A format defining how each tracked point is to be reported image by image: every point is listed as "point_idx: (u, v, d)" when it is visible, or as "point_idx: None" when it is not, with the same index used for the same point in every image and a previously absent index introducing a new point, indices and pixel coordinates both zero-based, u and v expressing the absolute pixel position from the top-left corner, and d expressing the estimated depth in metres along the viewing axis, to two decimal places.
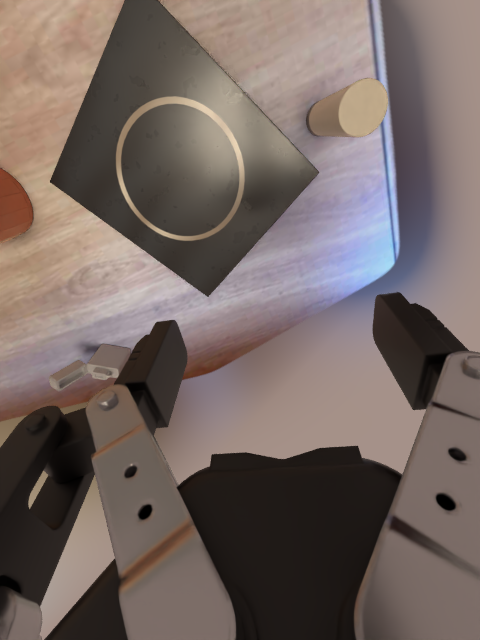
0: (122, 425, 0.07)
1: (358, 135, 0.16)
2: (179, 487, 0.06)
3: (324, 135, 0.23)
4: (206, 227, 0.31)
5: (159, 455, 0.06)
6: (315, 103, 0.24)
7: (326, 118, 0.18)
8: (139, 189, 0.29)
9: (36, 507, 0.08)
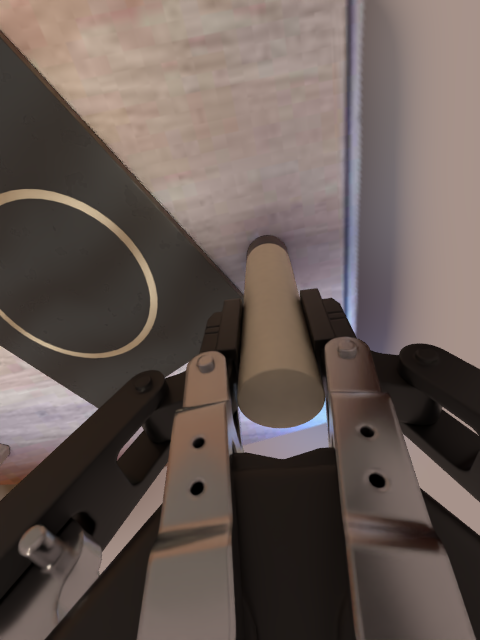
0: (209, 393, 0.08)
1: (272, 426, 0.09)
2: (237, 477, 0.06)
3: None
4: (105, 347, 0.23)
5: (226, 440, 0.06)
6: (258, 241, 0.17)
7: None
8: (6, 290, 0.20)
9: (129, 453, 0.09)
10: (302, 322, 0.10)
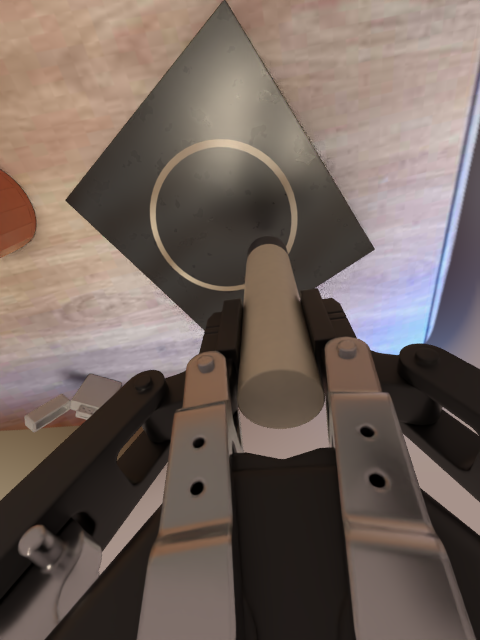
0: (209, 393, 0.08)
1: (271, 427, 0.09)
2: (236, 477, 0.06)
3: None
4: (239, 280, 0.27)
5: (226, 440, 0.06)
6: (258, 242, 0.17)
7: None
8: (173, 228, 0.25)
9: (129, 453, 0.09)
10: (302, 323, 0.10)
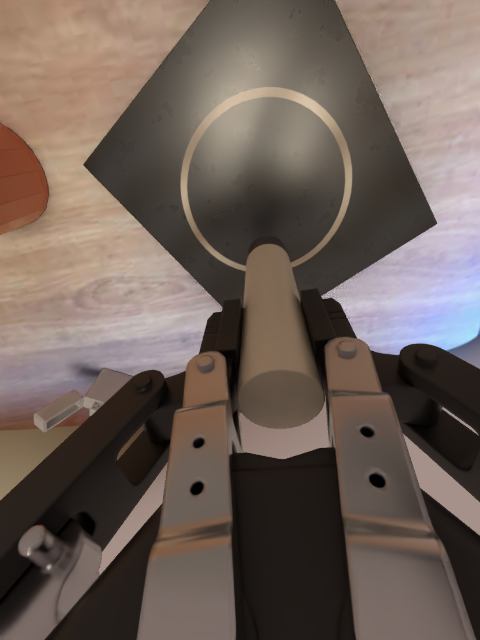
0: (209, 393, 0.08)
1: (271, 427, 0.09)
2: (237, 477, 0.06)
3: None
4: None
5: (226, 440, 0.06)
6: (258, 242, 0.17)
7: None
8: (206, 199, 0.22)
9: (129, 453, 0.09)
10: (302, 323, 0.10)
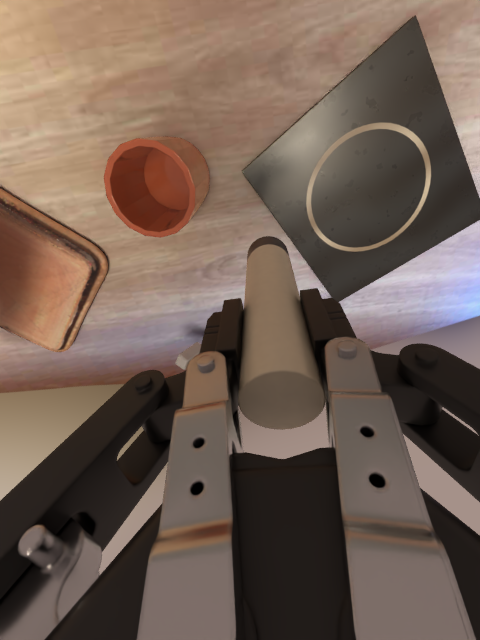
0: (209, 393, 0.08)
1: (272, 427, 0.09)
2: (237, 477, 0.06)
3: None
4: (367, 242, 0.33)
5: (226, 440, 0.06)
6: (259, 242, 0.17)
7: None
8: (324, 196, 0.31)
9: (129, 453, 0.09)
10: (303, 324, 0.10)
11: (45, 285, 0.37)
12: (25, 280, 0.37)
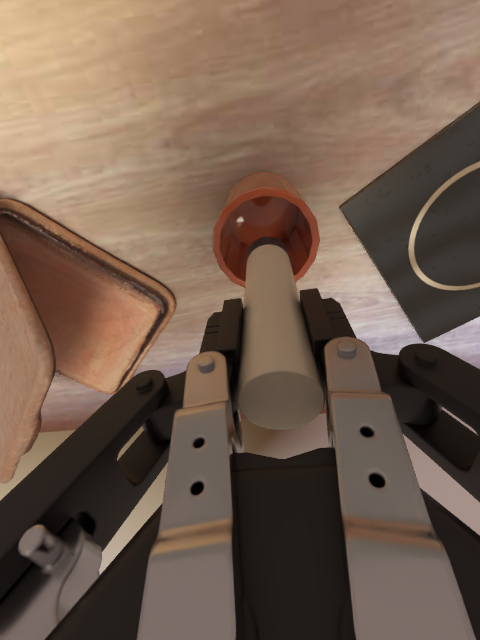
0: (209, 393, 0.08)
1: (272, 428, 0.09)
2: (237, 477, 0.06)
3: None
4: (471, 280, 0.30)
5: (226, 440, 0.06)
6: (258, 242, 0.17)
7: None
8: (430, 233, 0.27)
9: (129, 453, 0.09)
10: (302, 324, 0.10)
11: (105, 329, 0.34)
12: (84, 324, 0.34)
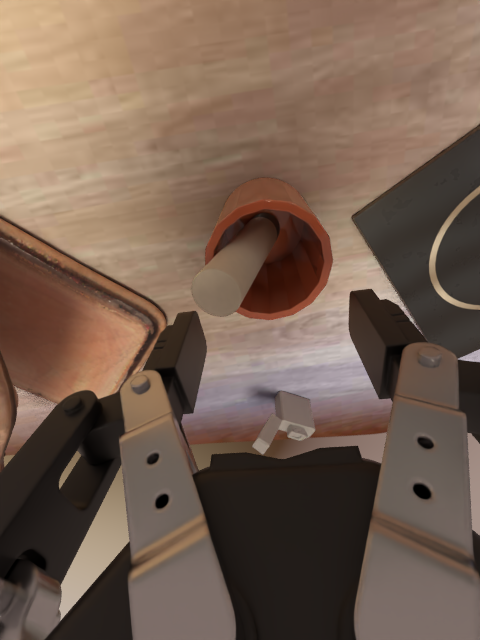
0: (151, 411, 0.07)
1: (213, 314, 0.15)
2: (198, 481, 0.06)
3: None
4: None
5: (181, 447, 0.06)
6: (255, 216, 0.23)
7: None
8: (454, 247, 0.24)
9: (68, 484, 0.08)
10: (248, 257, 0.16)
11: (89, 351, 0.30)
12: (65, 345, 0.30)
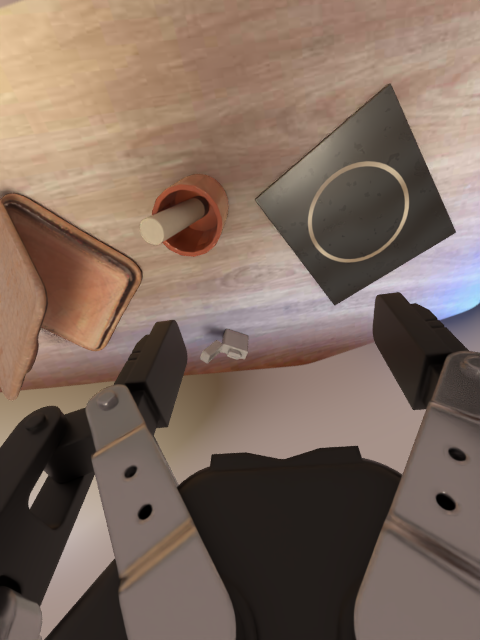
0: (122, 425, 0.07)
1: (152, 244, 0.28)
2: (179, 487, 0.06)
3: None
4: (359, 254, 0.40)
5: (159, 455, 0.06)
6: None
7: None
8: (322, 218, 0.38)
9: (36, 507, 0.08)
10: (172, 215, 0.29)
11: (88, 294, 0.44)
12: (72, 290, 0.44)
